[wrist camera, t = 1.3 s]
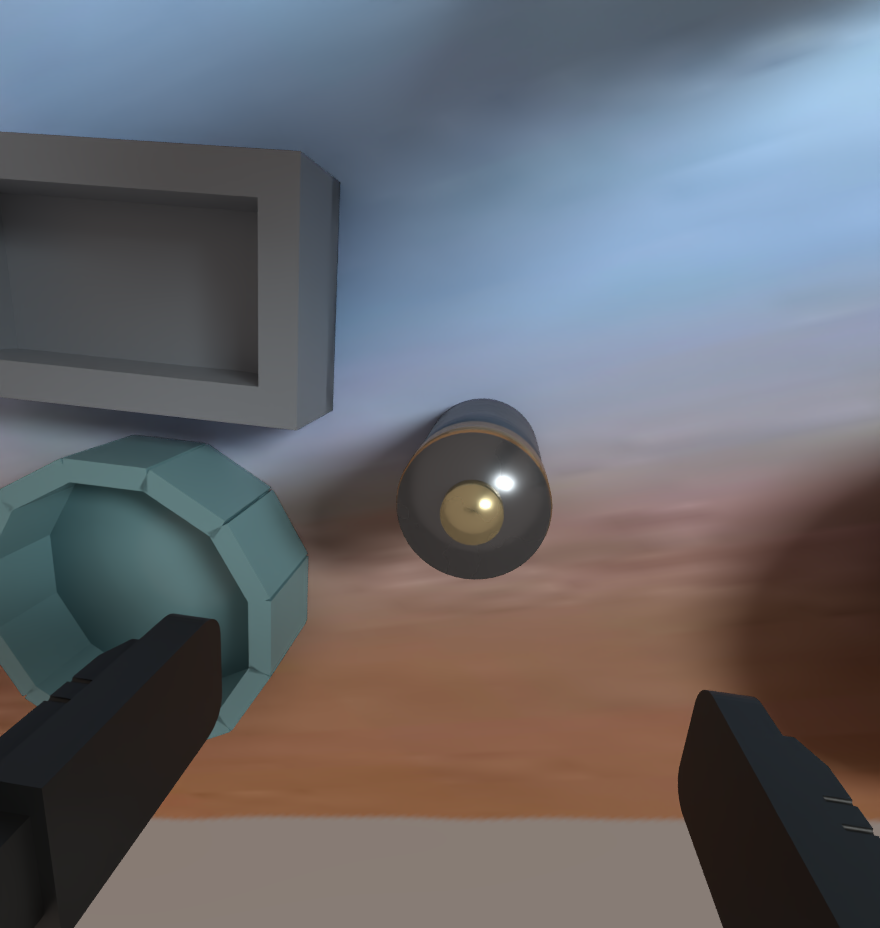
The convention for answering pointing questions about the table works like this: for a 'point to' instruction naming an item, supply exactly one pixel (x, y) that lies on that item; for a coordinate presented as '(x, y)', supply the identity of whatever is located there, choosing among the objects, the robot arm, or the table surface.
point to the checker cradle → (168, 278)
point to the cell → (476, 492)
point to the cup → (146, 563)
